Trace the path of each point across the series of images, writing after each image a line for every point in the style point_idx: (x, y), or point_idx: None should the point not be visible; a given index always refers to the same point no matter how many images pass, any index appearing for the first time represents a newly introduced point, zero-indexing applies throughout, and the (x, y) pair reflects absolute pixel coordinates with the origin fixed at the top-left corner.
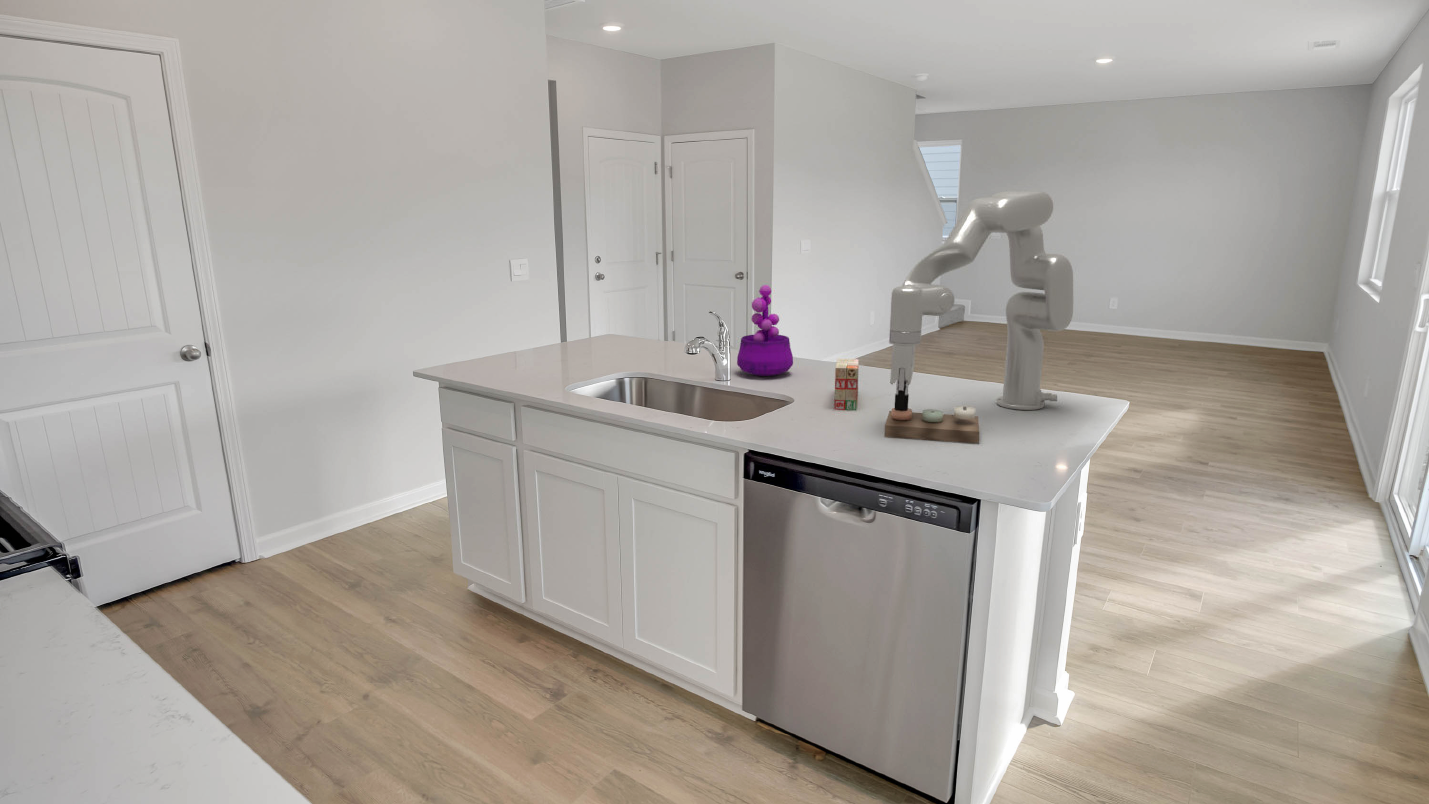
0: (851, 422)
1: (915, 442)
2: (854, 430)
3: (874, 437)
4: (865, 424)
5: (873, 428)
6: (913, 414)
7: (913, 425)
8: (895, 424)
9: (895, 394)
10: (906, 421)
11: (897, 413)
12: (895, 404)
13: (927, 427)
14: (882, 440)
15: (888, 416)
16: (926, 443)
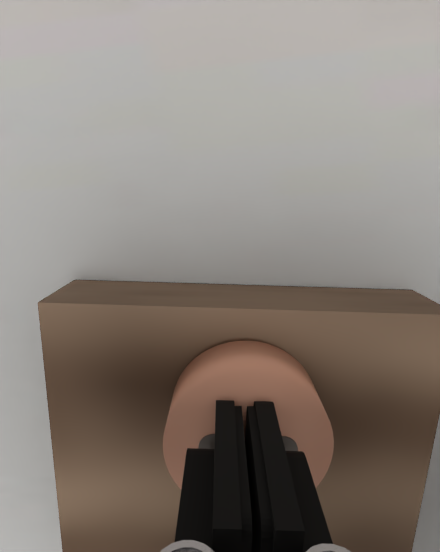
0: (372, 29)
1: (30, 434)
2: (167, 76)
3: (47, 223)
4: (333, 141)
5: (244, 203)
6: (370, 469)
7: (92, 473)
8: (81, 370)
9: (224, 532)
10: None
11: (170, 411)
12: (215, 437)
13: (74, 542)
14: (3, 273)
15: (286, 315)
16: (32, 479)
